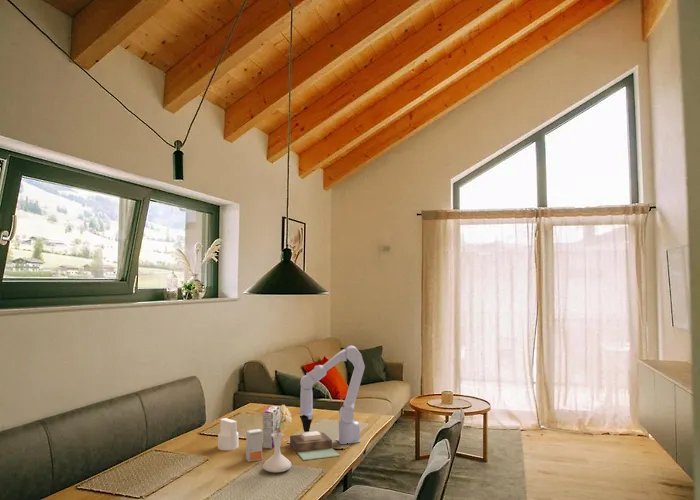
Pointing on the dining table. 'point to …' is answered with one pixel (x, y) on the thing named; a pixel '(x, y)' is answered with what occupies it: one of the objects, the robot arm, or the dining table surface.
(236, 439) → the cylinder with rectangular tab
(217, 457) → the dining table surface
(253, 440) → the skincare box
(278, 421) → the candy bar box
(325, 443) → the brown flat block
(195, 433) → the dining table surface
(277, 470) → the flower in vase
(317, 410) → the dining table surface
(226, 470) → the dining table surface
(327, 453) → the mat
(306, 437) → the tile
